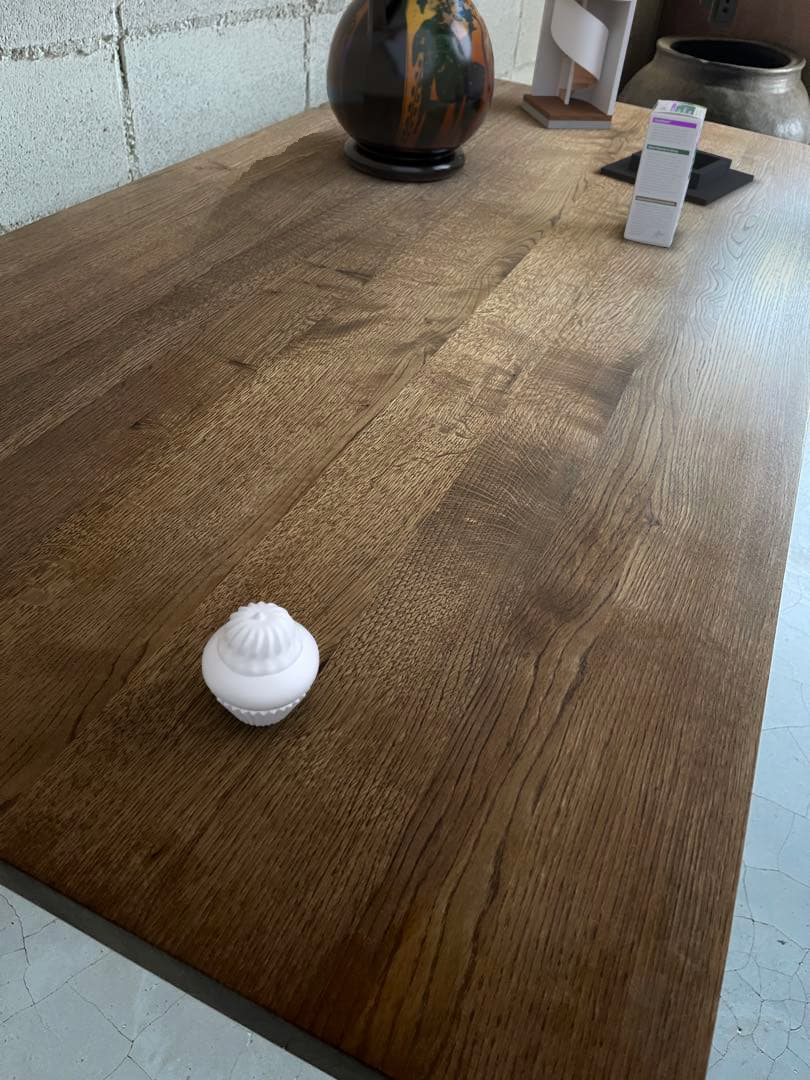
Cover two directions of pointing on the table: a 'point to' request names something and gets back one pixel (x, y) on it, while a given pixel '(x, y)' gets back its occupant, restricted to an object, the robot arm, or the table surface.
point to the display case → (579, 62)
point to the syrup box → (664, 172)
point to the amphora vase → (410, 85)
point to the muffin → (260, 663)
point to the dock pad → (691, 176)
